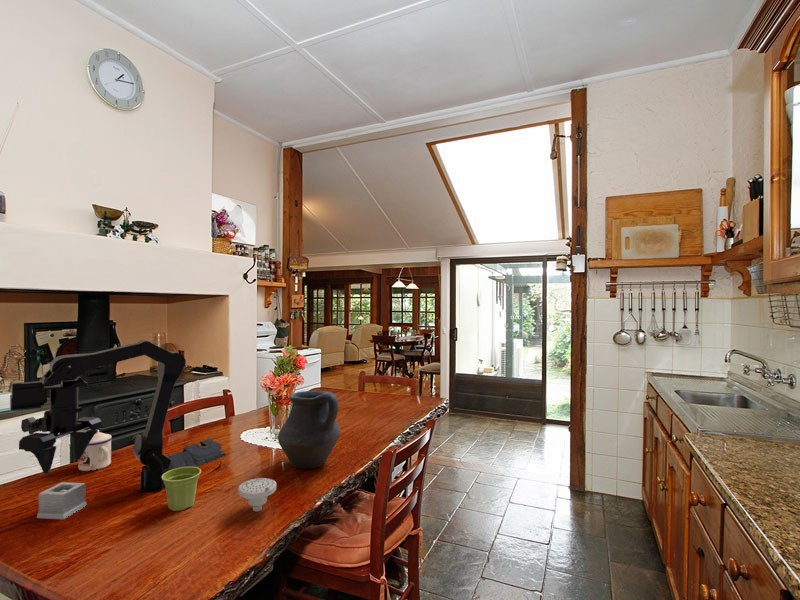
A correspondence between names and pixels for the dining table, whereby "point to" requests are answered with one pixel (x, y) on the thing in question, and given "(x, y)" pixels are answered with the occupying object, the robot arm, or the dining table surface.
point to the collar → (61, 498)
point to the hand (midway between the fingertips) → (62, 466)
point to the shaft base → (55, 516)
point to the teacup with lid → (96, 453)
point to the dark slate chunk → (196, 454)
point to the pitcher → (310, 429)
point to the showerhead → (257, 491)
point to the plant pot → (181, 487)
